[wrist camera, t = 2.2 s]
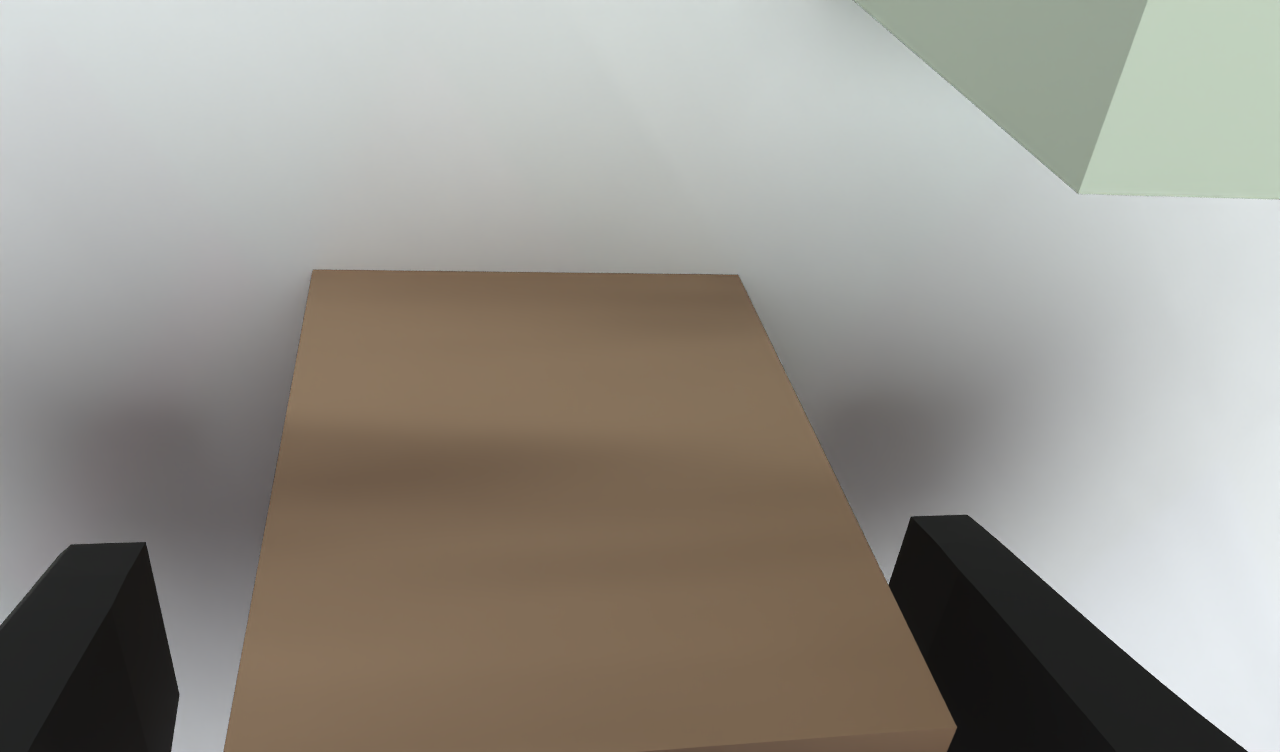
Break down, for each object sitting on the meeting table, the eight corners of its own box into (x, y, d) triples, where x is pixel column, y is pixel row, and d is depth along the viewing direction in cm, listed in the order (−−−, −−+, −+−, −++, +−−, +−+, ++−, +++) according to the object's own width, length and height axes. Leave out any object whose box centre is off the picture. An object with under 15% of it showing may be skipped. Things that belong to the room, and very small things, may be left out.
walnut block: (685, 568, 14) (819, 1053, 9) (338, 583, 13) (286, 1126, 8) (737, 272, 12) (956, 727, 7) (313, 268, 11) (219, 784, 6)
